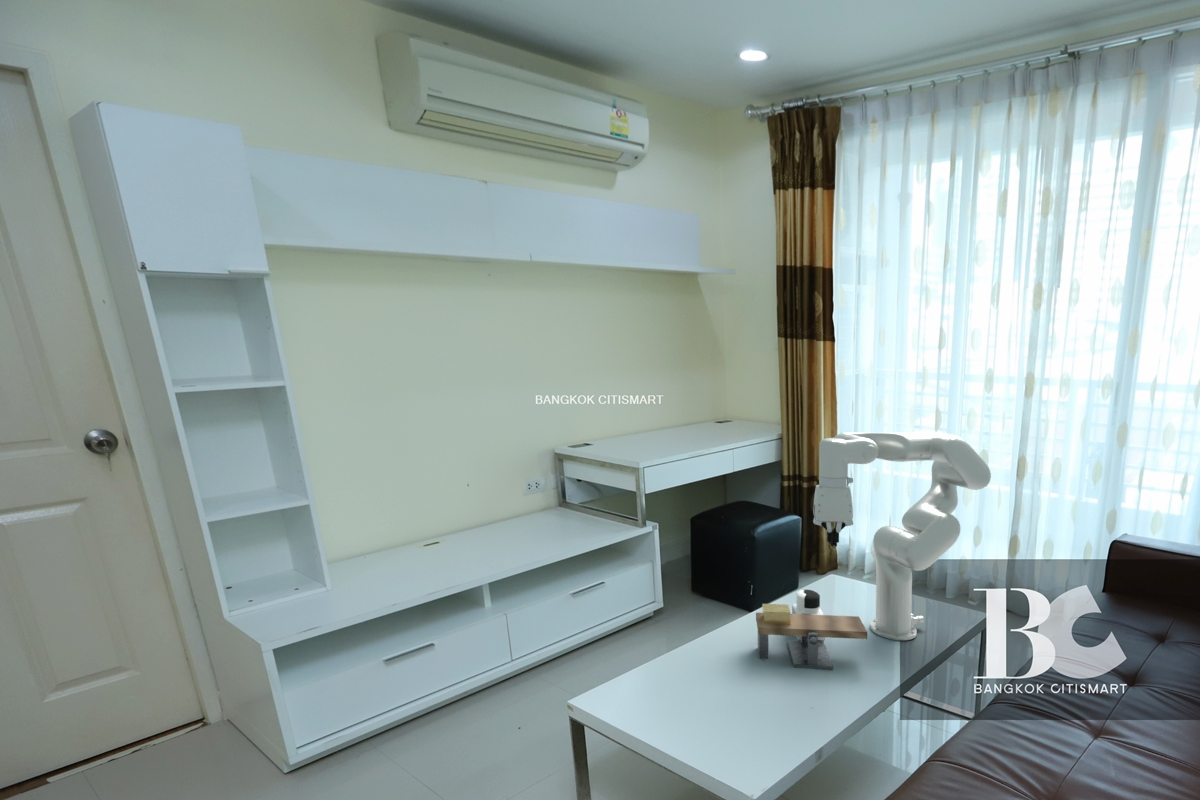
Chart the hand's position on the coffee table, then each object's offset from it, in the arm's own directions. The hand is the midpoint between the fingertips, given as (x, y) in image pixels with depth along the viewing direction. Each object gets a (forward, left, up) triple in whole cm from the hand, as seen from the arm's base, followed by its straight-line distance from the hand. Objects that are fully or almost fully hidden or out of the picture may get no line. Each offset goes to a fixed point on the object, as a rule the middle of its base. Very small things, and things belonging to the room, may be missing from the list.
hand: (832, 544), depth 170 cm
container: (+4, -6, -29) cm, 30 cm away
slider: (+19, +1, -19) cm, 27 cm away
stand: (+15, +3, -29) cm, 33 cm away
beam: (+11, +5, -21) cm, 24 cm away
